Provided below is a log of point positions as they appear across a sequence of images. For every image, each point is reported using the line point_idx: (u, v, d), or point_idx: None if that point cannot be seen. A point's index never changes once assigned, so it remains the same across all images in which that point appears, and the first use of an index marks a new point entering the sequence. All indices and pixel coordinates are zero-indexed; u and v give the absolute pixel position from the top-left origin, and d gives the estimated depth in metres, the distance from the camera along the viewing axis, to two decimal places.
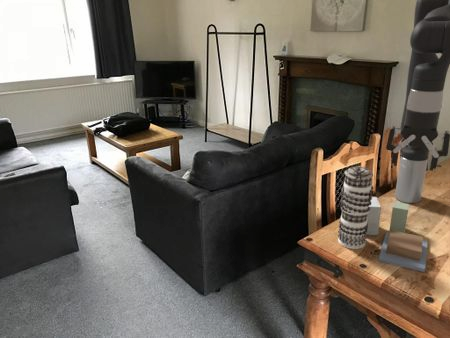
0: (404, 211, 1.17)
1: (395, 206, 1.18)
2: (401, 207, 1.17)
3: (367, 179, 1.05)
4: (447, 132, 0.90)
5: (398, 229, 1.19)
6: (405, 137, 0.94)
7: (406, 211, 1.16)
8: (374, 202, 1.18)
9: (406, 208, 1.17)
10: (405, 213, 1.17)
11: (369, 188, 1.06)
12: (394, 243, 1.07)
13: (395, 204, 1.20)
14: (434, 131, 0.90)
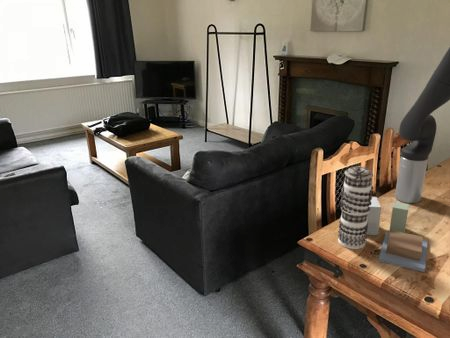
0: (404, 211, 1.17)
1: (395, 206, 1.18)
2: (401, 207, 1.17)
3: (367, 179, 1.05)
4: None
5: (398, 229, 1.19)
6: None
7: (406, 211, 1.16)
8: (374, 202, 1.18)
9: (406, 208, 1.17)
10: (405, 213, 1.17)
11: (369, 188, 1.06)
12: (394, 243, 1.07)
13: (395, 204, 1.20)
14: None
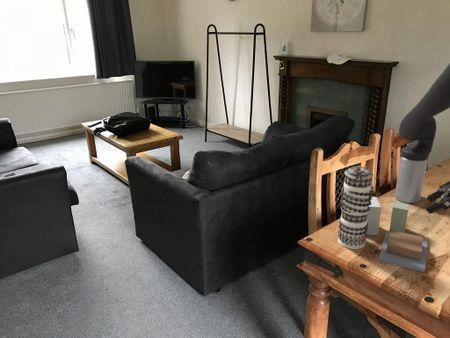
0: (404, 211, 1.17)
1: (395, 206, 1.18)
2: (401, 207, 1.17)
3: (367, 179, 1.05)
4: None
5: (398, 229, 1.19)
6: None
7: (406, 211, 1.16)
8: (374, 202, 1.18)
9: (406, 208, 1.17)
10: (405, 213, 1.17)
11: (369, 188, 1.06)
12: (394, 243, 1.07)
13: (395, 204, 1.20)
14: None
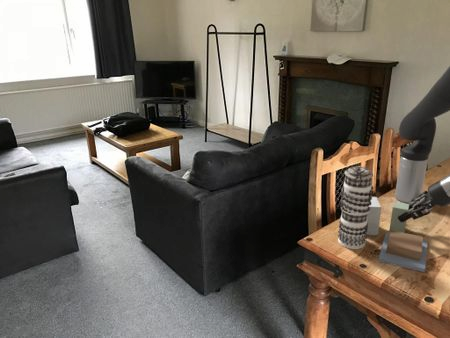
0: (404, 211, 1.17)
1: (395, 206, 1.18)
2: (401, 207, 1.17)
3: (367, 179, 1.05)
4: (429, 193, 1.19)
5: (398, 229, 1.19)
6: None
7: (406, 211, 1.16)
8: (374, 202, 1.18)
9: (406, 208, 1.17)
10: None
11: (369, 188, 1.06)
12: (394, 243, 1.07)
13: (395, 204, 1.20)
14: None
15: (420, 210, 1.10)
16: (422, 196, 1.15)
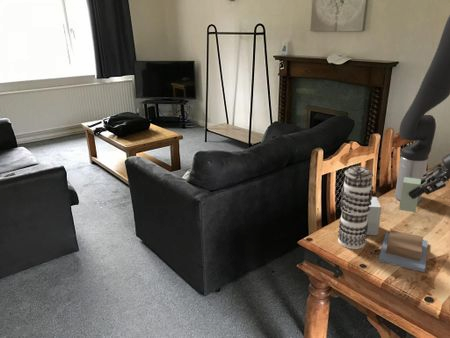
0: (416, 186, 1.05)
1: (405, 181, 1.07)
2: (412, 182, 1.06)
3: (367, 179, 1.05)
4: None
5: (409, 207, 1.08)
6: None
7: (418, 186, 1.04)
8: (374, 202, 1.18)
9: (418, 183, 1.05)
10: None
11: (369, 188, 1.06)
12: (394, 243, 1.07)
13: (405, 179, 1.08)
14: None
15: (434, 183, 0.98)
16: (436, 169, 1.03)
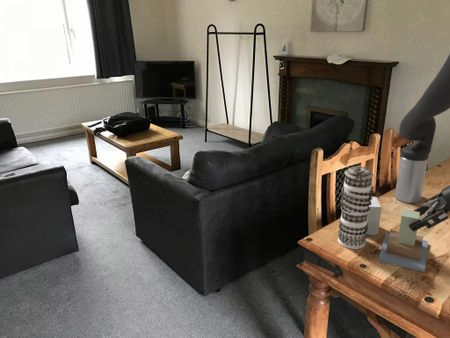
0: (414, 220, 1.03)
1: (404, 214, 1.05)
2: (411, 216, 1.04)
3: (367, 179, 1.05)
4: None
5: (407, 240, 1.06)
6: None
7: None
8: (374, 202, 1.18)
9: (417, 217, 1.03)
10: None
11: (369, 188, 1.06)
12: (394, 243, 1.07)
13: (404, 212, 1.06)
14: None
15: (437, 215, 0.95)
16: (434, 200, 1.02)
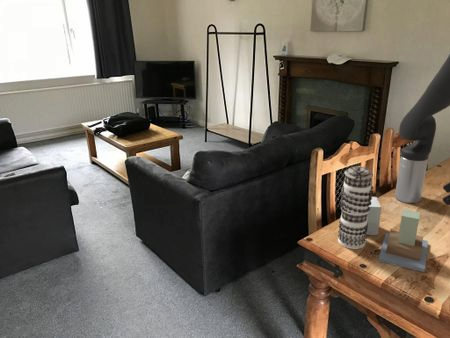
0: (414, 220, 1.03)
1: (404, 214, 1.05)
2: (411, 216, 1.04)
3: (367, 179, 1.05)
4: None
5: (407, 240, 1.06)
6: None
7: (417, 220, 1.03)
8: (374, 202, 1.18)
9: (417, 217, 1.03)
10: (415, 222, 1.03)
11: (369, 188, 1.06)
12: (394, 243, 1.07)
13: (404, 212, 1.06)
14: None
15: None
16: None
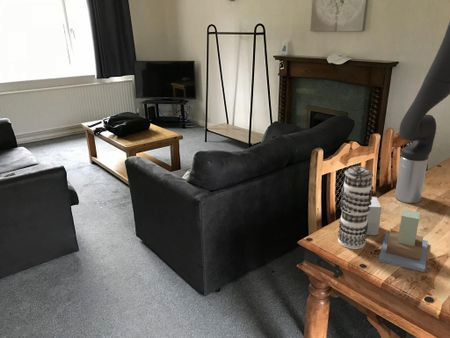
0: (414, 220, 1.03)
1: (404, 214, 1.05)
2: (411, 216, 1.04)
3: (367, 179, 1.05)
4: None
5: (407, 240, 1.06)
6: None
7: (417, 220, 1.03)
8: (374, 202, 1.18)
9: (417, 217, 1.03)
10: (415, 222, 1.03)
11: (369, 188, 1.06)
12: (394, 243, 1.07)
13: (404, 212, 1.06)
14: None
15: None
16: None
